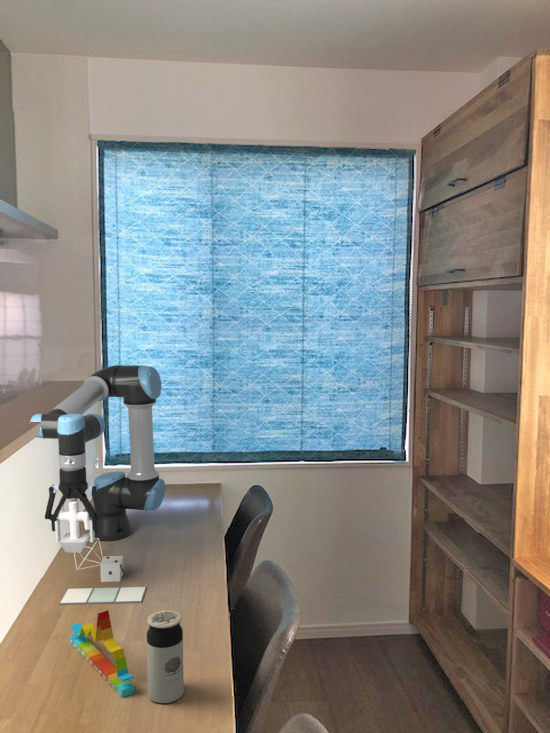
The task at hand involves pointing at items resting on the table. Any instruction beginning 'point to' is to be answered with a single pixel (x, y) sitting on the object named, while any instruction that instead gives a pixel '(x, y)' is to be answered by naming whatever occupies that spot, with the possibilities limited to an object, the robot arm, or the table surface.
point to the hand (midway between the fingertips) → (75, 540)
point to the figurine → (74, 527)
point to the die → (111, 568)
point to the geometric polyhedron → (87, 555)
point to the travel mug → (165, 657)
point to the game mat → (103, 595)
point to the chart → (105, 668)
